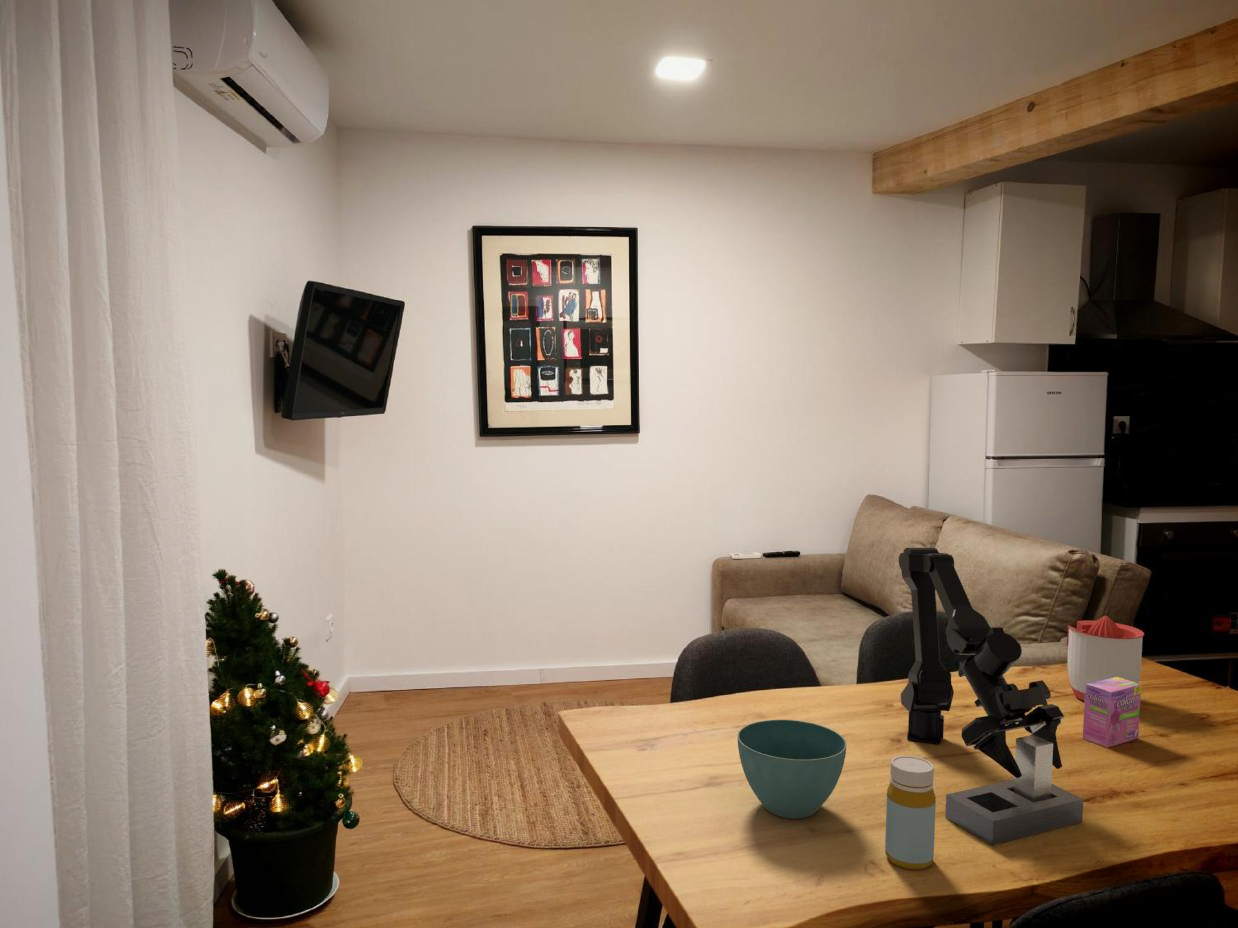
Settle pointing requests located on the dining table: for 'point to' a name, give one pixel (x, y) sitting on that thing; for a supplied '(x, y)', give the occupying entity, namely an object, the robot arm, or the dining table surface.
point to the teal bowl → (791, 764)
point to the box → (1111, 711)
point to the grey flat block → (1011, 812)
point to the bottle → (910, 813)
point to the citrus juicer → (1102, 653)
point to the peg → (1034, 768)
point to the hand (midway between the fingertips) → (1039, 772)
